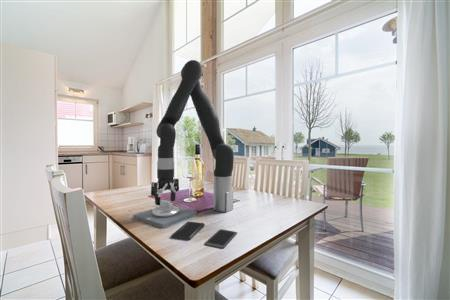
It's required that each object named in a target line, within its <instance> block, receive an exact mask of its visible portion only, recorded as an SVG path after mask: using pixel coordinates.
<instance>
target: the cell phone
mask: <svg viewBox="0 0 450 300" xmlns="http://www.w3.org/2000/svg"><path fill="white" fill-rule="evenodd" d="M237 234H238V232H237V231H233V230H228V229H222V228H221V229H218V230H217V231H216V232H215V233H214V234H213V235H212V236H210V238H208V239H207V240H206V241H205V242H204V243H203V245H204V246H207V247H211V248H216V249H221V250H224V249H225V248H226V247H227V246H228V245H229V244H230V242H232V240H233V239H234V238H235V237H236V236H237Z"/></svg>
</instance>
